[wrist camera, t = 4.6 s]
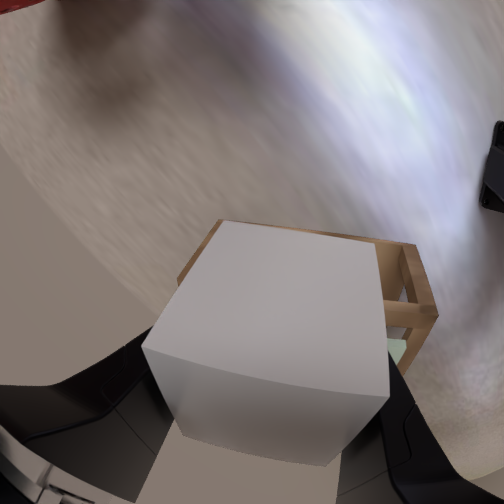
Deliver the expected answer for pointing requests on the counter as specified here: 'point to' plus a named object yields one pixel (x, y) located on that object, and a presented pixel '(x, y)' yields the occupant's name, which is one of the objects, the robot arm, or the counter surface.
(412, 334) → the frame
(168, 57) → the counter surface
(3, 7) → the plant pot
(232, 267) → the stone
